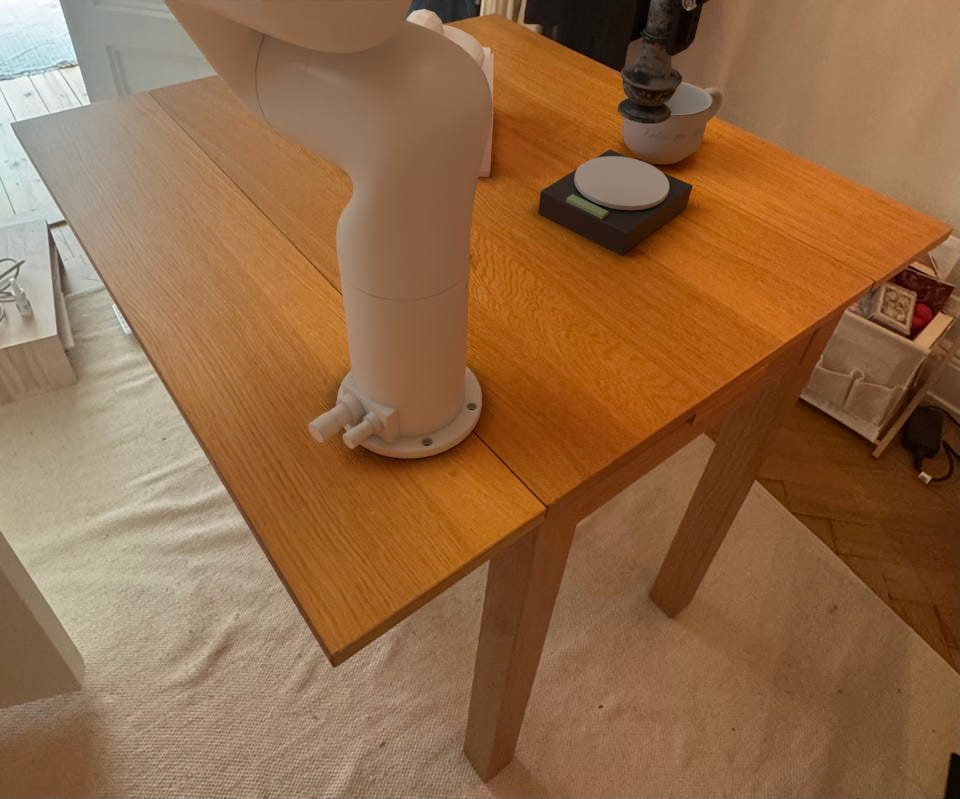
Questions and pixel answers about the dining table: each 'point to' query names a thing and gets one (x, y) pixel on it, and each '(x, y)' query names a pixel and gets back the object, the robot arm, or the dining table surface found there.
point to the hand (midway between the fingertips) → (658, 42)
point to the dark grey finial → (651, 69)
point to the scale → (614, 200)
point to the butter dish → (474, 49)
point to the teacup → (674, 126)
